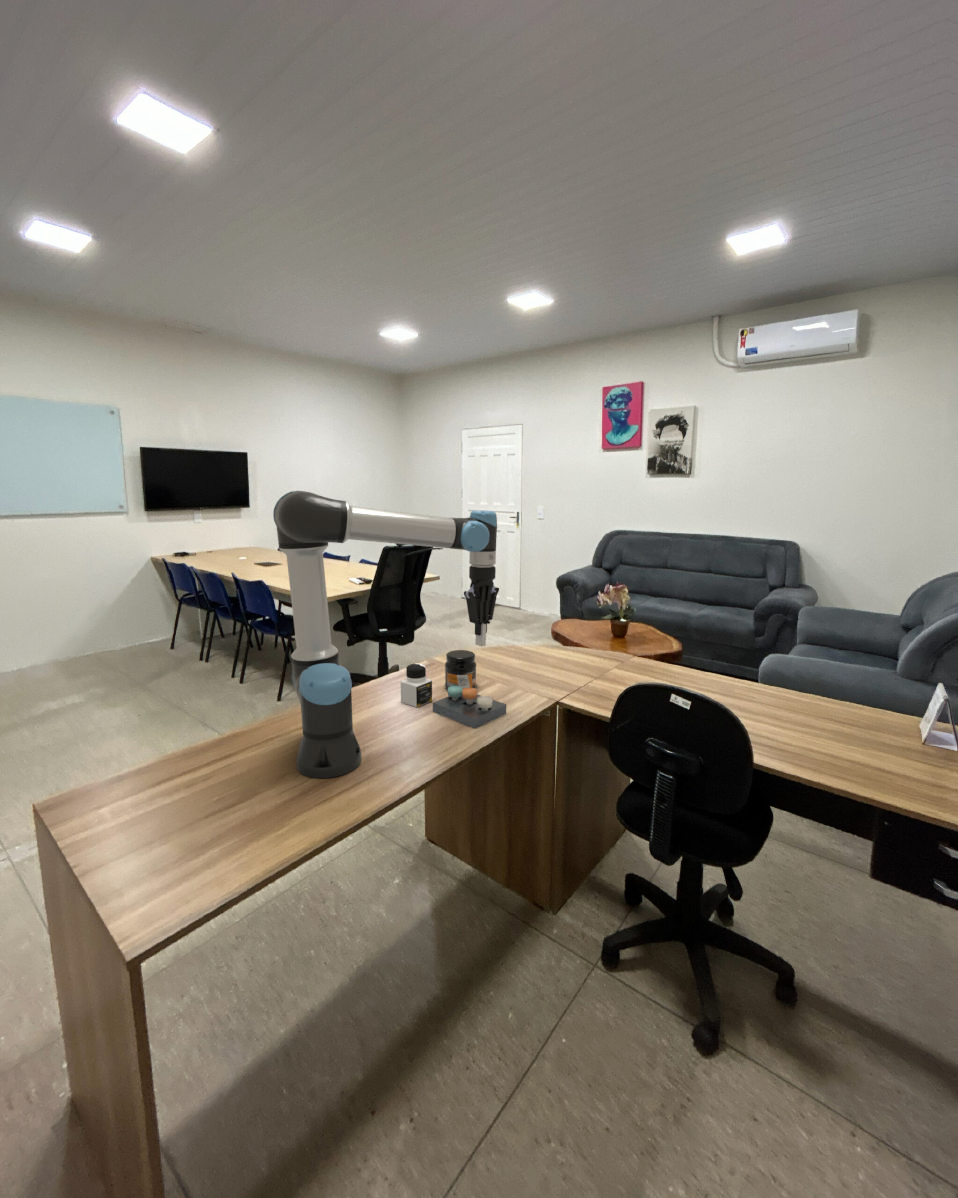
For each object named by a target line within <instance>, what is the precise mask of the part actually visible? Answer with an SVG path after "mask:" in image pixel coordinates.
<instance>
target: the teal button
mask: <svg viewBox="0 0 958 1198" xmlns="http://www.w3.org/2000/svg"><path fill="white" fill-rule="evenodd" d="M448 696H450V697H452V700H454V701H457V700H458V697H460V696H462V687H460V686H450V687H448V689H447V697H448Z"/></svg>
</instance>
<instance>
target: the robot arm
mask: <svg viewBox="0 0 958 1198" xmlns="http://www.w3.org/2000/svg"><path fill="white" fill-rule="evenodd" d="M272 514H273V520H274V524H275V527H276V533H277V534H276V535H277V542H278V549H279V551H281V552H282V553H283V554H285V556H286V563H287V564H286V565H287V573H288V580H289V581H288V582H289V591H290V600H291V607H292V617H293V629H294V634H295V635H294V637H295V645H296V649H294V651H293V652H292V653H291V655H290V657H291V665H292V672H291V681H292V685H293V688H294V690H295V692H296V695H297V698H298V700H299V704H300V711H301V713H300V714H301V726H302V728H301V729H302V738H301V741H300V744H299V747H298V748H299V749H298V752H297V754H296V769H297V771H298V772H299V773H300V774H302V775H303V776H306V777H308V778H312V779H330V778H336V777H340V776H343V775H345V774H348V773H350V772H352V771H354V770H355V769H356V768H358V766H359V765H360V764H361V762H362V750H361V747H360V744H359V742H358V740H357V737H356V734H355V732H354V728H353V727H354V725H353V723H354V721H353V702H352V699H353V698H352V689H353V688H352V686H353V683H352V679H351V673H350V671H349V670H348V669H347V668H346V667H345V666H343V665H340V657H339V649H338V648H337V647H336V646H335V645H334V644H332V636H331V625H330V617H329V615H330V613H329V603H328V593H327V584H326V583H327V582H326V575H325V573H326V572H325V565H324V564H325V563H324V554H323V553H324V552H325V550H326V549H327V548H328V547H329V543H335V544H345V542H347V541H349V540H351V541H352V540H354V541H365V542H375V543H385V544H387V543H388V544H396V545H397V544H398V545H406V546H407V545H408V546H417V547H418V546H421V547H430V548H441V549H452V550H460V551H461V550H463V551H467V552H469V564H470V566H469V567H468V568H469V571H468V572H469V573H468V576H469V579H470V584H469V589H468V590H464V591H463V596H464V597H465V601H466V605H467V606H466V607H467V614H468V619H469V623H472V624H474V634H475V644H474V645H476V646H479V647H485V646H486V643H487V634H488V633H487V632H488V625H490V624H491V621H492V620H493V618H494V613H495V607H496V601H497V596H498V593H499V592H500V587H497V586H495V584H494V580H496V571H497V570H496V567H495V565H496V561H497V560H496V558H497V555H496V553H497V538H498V537H497V532H498V531H497V530H498V517H497V516H498V515H497V513H496V512H495V511H493V510H471V512H470V515H469V517H465V518H464V517H445V516H434V515H429V514H428V515H427V514H420V513H410V512H403V511H394V510H386V509H377V508H369V507H368V508H367V507H361V506H352V505H350V503H349V502H348V501H346V500H339V499H333V498H329V497H326V496H322V495H319V494H316V493H313V492H311V491H304V490H293V491H289V492H287V493H285V494H284V495H282V496H281V497H279V499H278V500H277V501H276V503H275V505H274V508H273V513H272Z"/></svg>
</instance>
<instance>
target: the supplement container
mask: <svg viewBox="0 0 958 1198" xmlns="http://www.w3.org/2000/svg"><path fill="white" fill-rule="evenodd" d="M445 656H446V657H445V659H446V661H445V662H444V669H445V671H444V673H445V674H444V675H445V676H444V677H445V679H444V680H445V681H444V682H445V683H444V687H445V688H446V690H448V687H450V686H460V687H462V689H464V688H468V687H471V688H476V686H477V663H476V661H475V660H476V654H475V652H474V651H471V650H467V649H464V650H463V649H455V650H450V651H448V652H447V653H446V655H445Z"/></svg>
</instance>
